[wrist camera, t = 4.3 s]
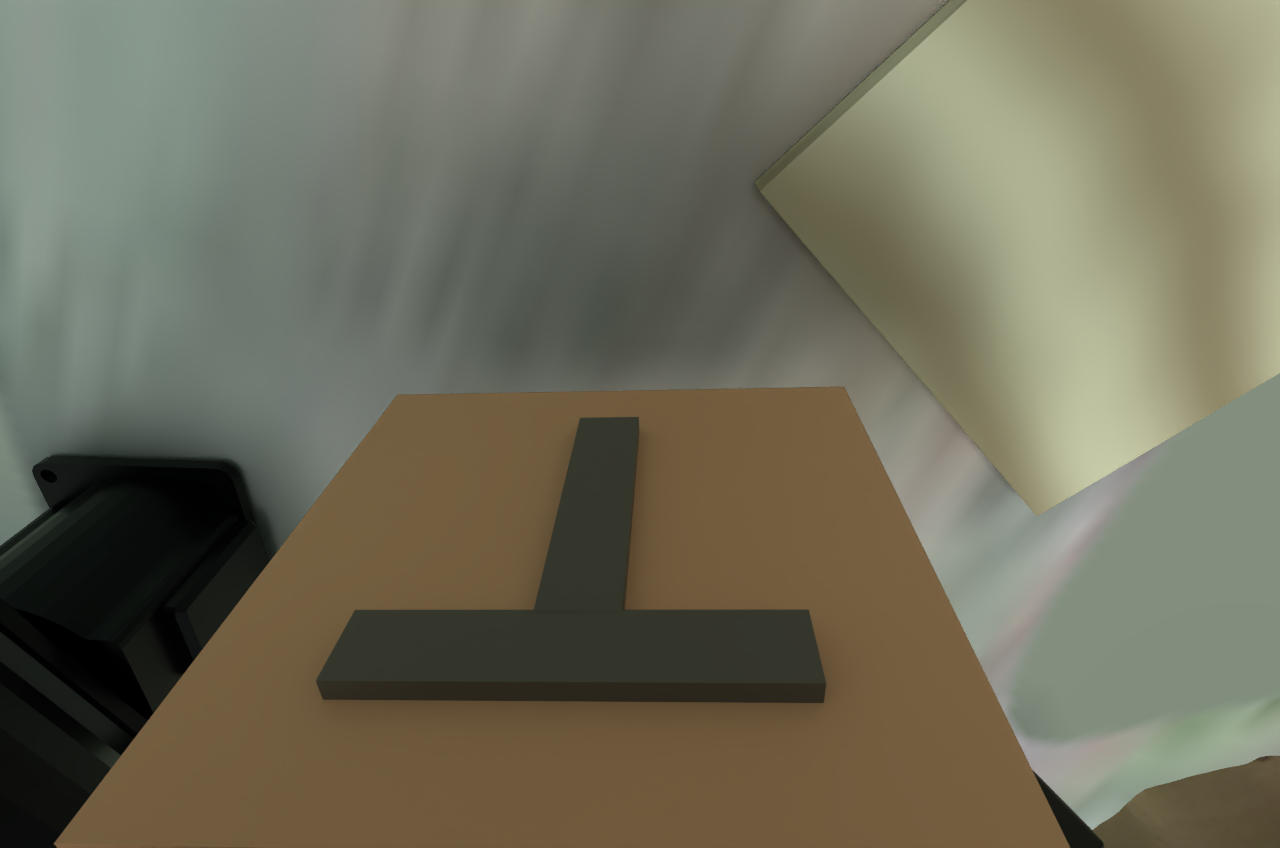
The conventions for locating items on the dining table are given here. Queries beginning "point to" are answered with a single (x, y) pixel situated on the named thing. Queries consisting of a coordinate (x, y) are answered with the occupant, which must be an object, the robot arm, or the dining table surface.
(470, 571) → the letter cube
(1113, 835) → the food dish
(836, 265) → the cream flat square slab
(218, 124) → the dining table surface
